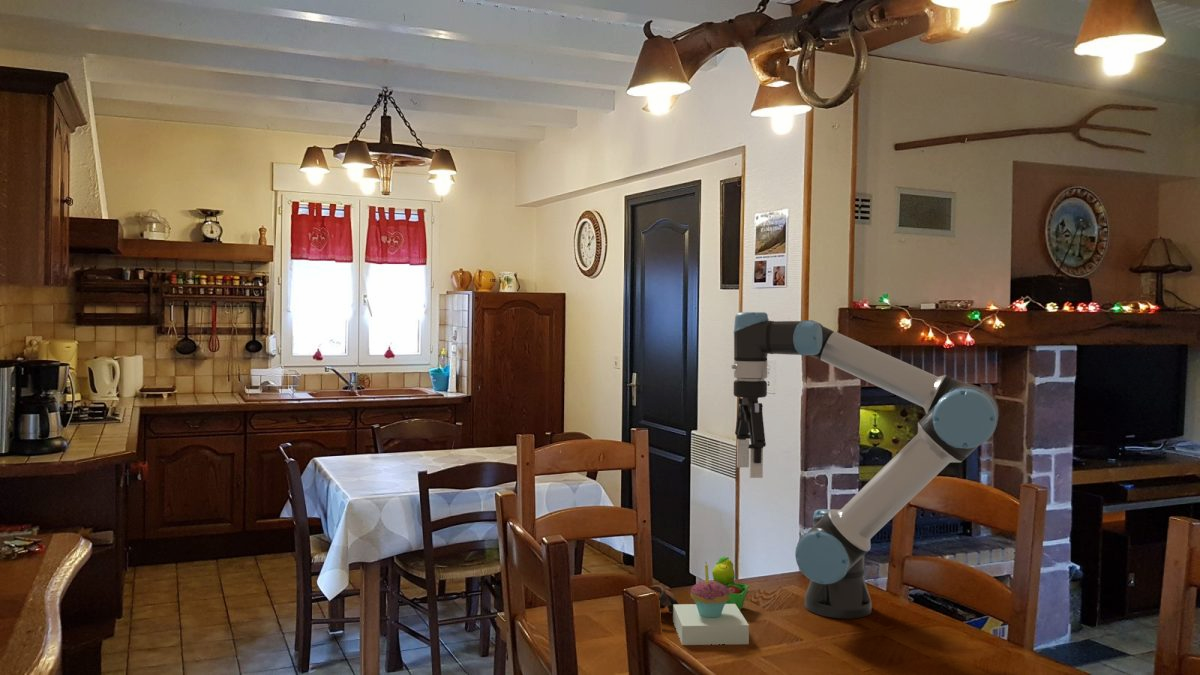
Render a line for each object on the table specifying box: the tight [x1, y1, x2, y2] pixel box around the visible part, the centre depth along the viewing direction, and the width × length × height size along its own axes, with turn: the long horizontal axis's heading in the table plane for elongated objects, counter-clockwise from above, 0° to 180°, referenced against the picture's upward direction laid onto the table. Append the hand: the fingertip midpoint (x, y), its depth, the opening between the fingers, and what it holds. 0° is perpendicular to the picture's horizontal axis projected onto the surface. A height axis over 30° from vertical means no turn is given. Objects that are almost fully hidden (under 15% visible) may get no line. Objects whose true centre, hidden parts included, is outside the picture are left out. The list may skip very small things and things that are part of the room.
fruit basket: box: [703, 556, 749, 611], centre depth 213 cm, size 11×9×11 cm
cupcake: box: [690, 560, 730, 618], centre depth 196 cm, size 9×8×12 cm
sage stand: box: [672, 603, 750, 646], centre depth 196 cm, size 14×14×4 cm
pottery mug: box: [649, 584, 679, 614], centre depth 207 cm, size 12×10×8 cm
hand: (749, 472), depth 208 cm, fingers open, 13 cm apart
